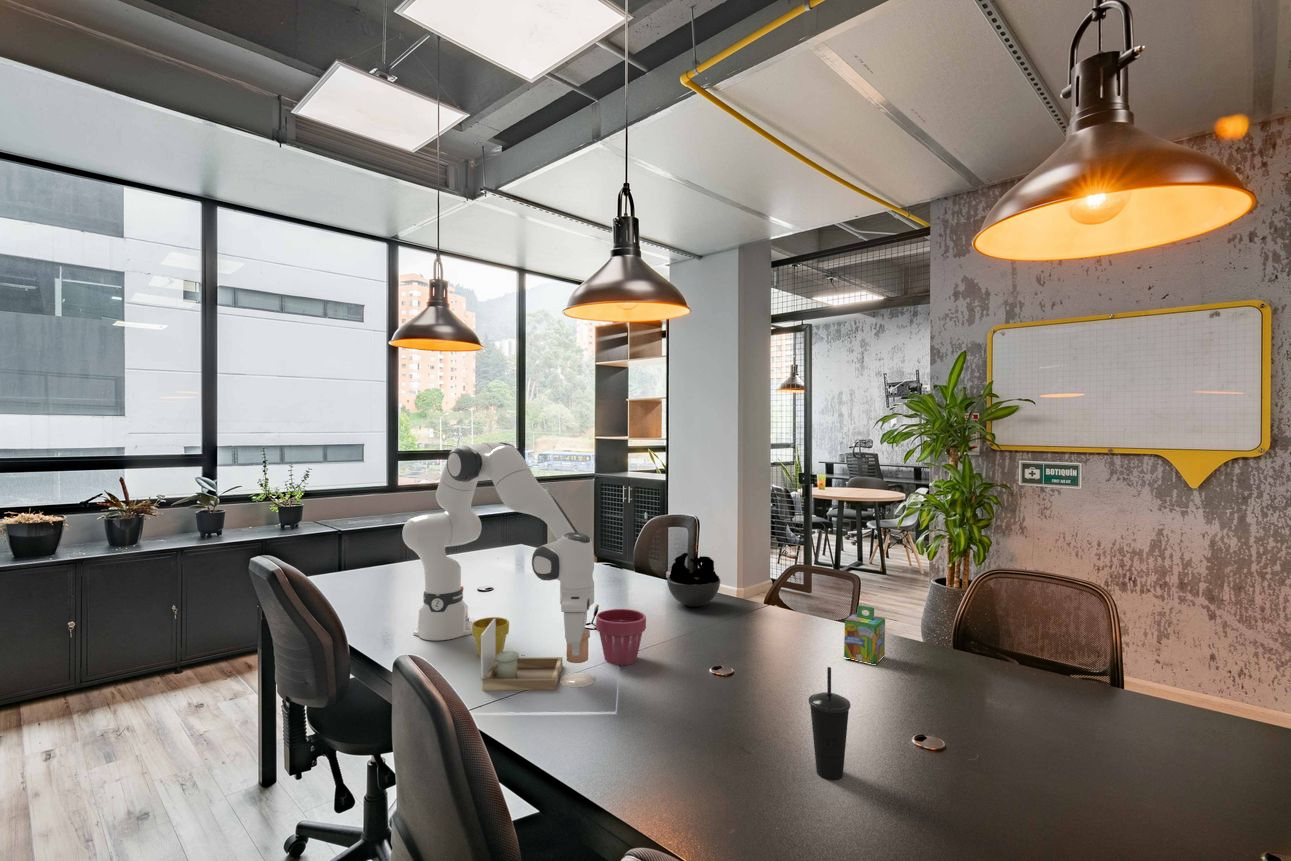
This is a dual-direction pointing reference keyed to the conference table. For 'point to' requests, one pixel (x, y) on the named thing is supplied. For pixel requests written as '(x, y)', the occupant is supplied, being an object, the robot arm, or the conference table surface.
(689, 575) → the coal bowl
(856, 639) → the chalk box
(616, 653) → the plant pot
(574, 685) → the cream disc
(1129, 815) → the conference table surface
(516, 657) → the sage pot
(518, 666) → the brown wooden tray
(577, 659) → the peach mushroom knob
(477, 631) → the plant pot
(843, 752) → the drinking cup
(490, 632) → the propped lid
